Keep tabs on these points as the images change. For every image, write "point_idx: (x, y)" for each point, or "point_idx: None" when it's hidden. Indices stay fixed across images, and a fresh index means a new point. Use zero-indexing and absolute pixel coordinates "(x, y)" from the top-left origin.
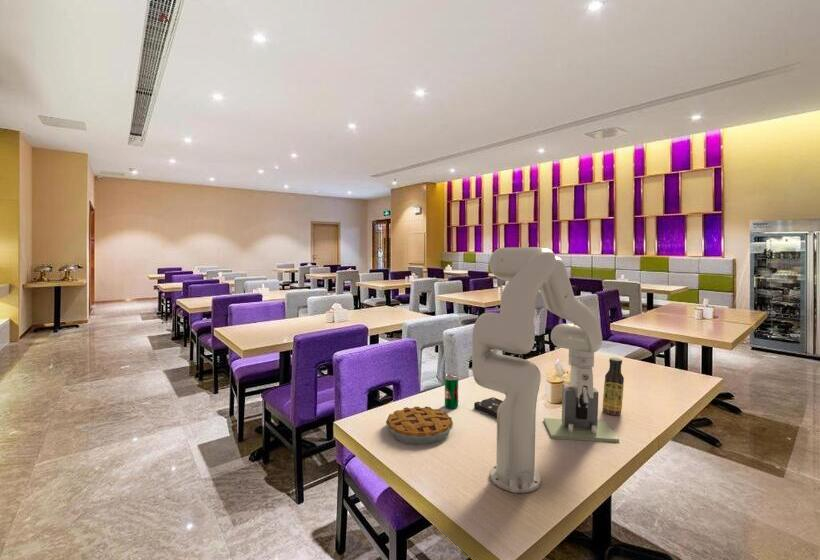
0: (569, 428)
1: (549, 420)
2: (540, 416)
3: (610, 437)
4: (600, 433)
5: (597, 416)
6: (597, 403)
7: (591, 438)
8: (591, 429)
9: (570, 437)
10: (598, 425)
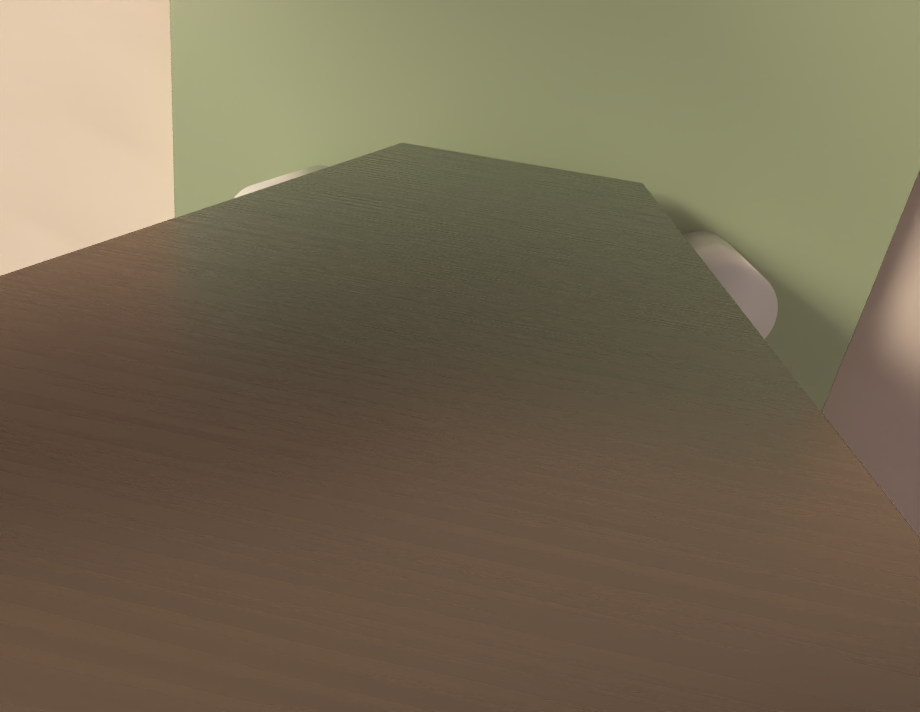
0: None
1: None
2: None
3: (915, 30)
4: (714, 150)
5: (677, 238)
6: (802, 448)
7: (828, 374)
8: None
9: None
10: (375, 14)
